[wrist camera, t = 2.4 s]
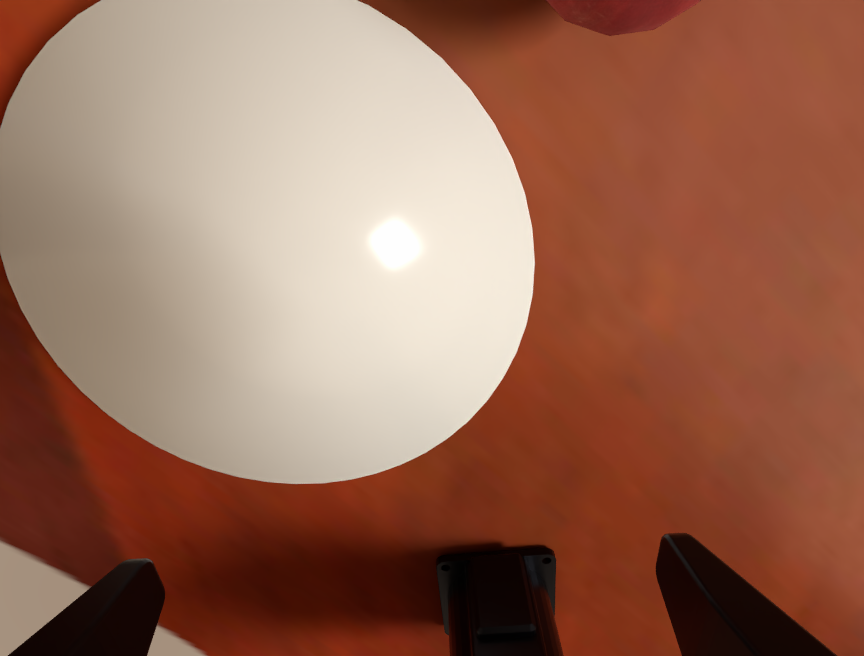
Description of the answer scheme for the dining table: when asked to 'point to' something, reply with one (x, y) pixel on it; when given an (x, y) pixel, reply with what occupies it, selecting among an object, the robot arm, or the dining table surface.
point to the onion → (620, 13)
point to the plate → (264, 232)
